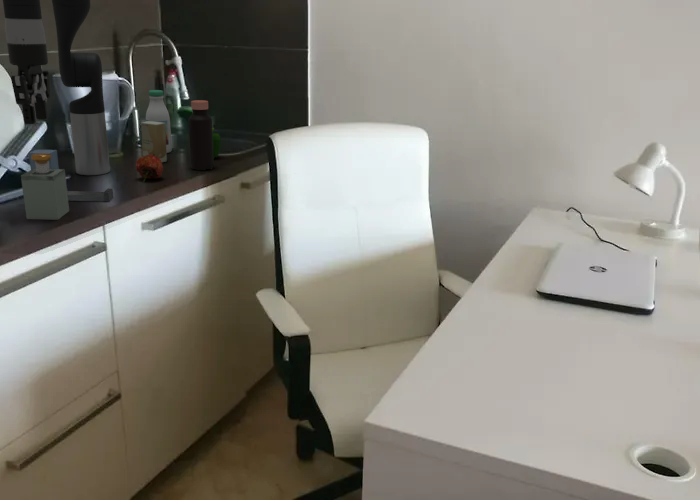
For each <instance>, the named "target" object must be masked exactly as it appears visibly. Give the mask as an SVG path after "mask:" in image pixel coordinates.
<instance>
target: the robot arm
mask: <svg viewBox="0 0 700 500" xmlns="http://www.w3.org/2000/svg"><path fill="white" fill-rule="evenodd" d="M51 3H52V9H53V10H52V11H53V15H54V21H55V30H56V39H57V53H58V68H59V74H60V75H59V76H60V80H61V81H62V84H63V86H65V87H67V88H90V91H89V92H88V93H87V94H86V95H84V96H82V97H79V98H76V99H73V100H71V101H70V102H69V105H68V106H69V116H70V117H69V118H70V125H71V134H72V135H71V136H72V143H73V144H72V145H73V152H74V155H73V156H74V165H75V172H76V174H78V175H81V176H83V175H84V176H98V175H105V174H107V173H110V171H111V166H110V155H109V153H110V152H109V146H108V145H109V144H108V134H107V132H108V131H107V123H106V121H107V120H106V112H105V111H106V110H105V109H106V108H105V102H104V92H103V91H104V89H103V87H104V86H103V83H104V82H103V66H102V65H103V64H102V61H101V57H100V56H99V54H98V53H95V52H72V51H71V50H72V45H73V41H74V40H75V37H76V34H77V33H78V31H79V29H80V28H81V26H82V25H83V23H84V22H85V20H86V18H87V16H88V14H89V12H90V10H91V0H51ZM2 4H3V14H4V18H5V19H4V20H5V22H4V23H5V25H4V26H5V29H4V30H5V38H6V39H5V40H6V45H7V52H8V61H9V63H10V64H11V66H12V65H13V66H17V75H11V76H10V79H11V85H12V89H13V94H14V99H15V103H16V105H20V106H21V108H22V115H23V122H24V124H25V125H34V124H37V123H36V122H37V120H39V121H40V120H42V121H43V120H46V119H48V112H47V111H48V110H47V102H48V99H50V97H51V96H50V95H51V93H50V91H51V90H50V74H49V71H48V70H43V69H42V66H46V65H48V64H49V60H48V59H49V58H48V50H47V41H46V34H45V33H46V32H45V27H44V24H43V19H42V17H43V16H42V7H41V0H2Z"/></svg>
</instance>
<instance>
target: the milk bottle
mask: <svg viewBox="0 0 700 500" xmlns="http://www.w3.org/2000/svg"><path fill="white" fill-rule="evenodd" d="M148 96H149V103H148V107H147V109H146V111H145V112H146V113H145V122H146V121H155V122H162V123H165V125H166V154H168V153H171V152H172V150H173V149H172V147H173V146H172V131H171V130H172V129H171V128H172V127H171V119H170V113H169V110H168V109H167V107H166V104H165V101H164V98H165V94H164V91H163V90H160V89H150V90H148Z"/></svg>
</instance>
